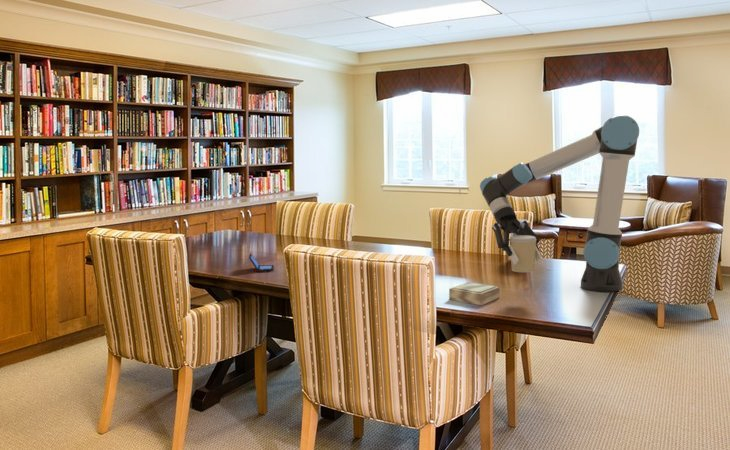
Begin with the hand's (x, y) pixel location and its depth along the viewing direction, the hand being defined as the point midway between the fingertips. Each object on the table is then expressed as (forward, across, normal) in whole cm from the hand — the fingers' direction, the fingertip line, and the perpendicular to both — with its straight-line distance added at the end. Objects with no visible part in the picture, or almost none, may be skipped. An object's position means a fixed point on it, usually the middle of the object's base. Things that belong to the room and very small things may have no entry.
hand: (528, 261), depth 208 cm
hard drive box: (-34, -38, -54) cm, 74 cm away
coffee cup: (+1, 0, -5) cm, 5 cm away
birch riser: (+3, +16, -17) cm, 23 cm away
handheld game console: (-58, +78, -76) cm, 124 cm away
